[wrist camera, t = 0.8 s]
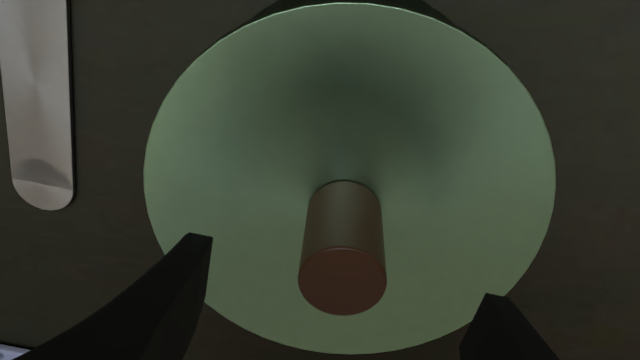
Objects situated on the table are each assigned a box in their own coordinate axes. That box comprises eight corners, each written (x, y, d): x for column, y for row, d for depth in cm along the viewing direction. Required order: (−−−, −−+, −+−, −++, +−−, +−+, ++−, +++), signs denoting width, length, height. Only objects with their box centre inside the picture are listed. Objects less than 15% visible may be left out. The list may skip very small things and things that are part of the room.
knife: (-33, -306, 16) (-104, -340, 13) (61, -282, 16) (7, -312, 13) (17, 200, 25) (-20, 235, 22) (76, 212, 25) (47, 248, 23)
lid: (146, 297, 21) (97, 396, 17) (165, -55, 14) (92, -30, 10) (464, 360, 22) (489, 469, 18) (621, 50, 15) (717, 112, 11)
